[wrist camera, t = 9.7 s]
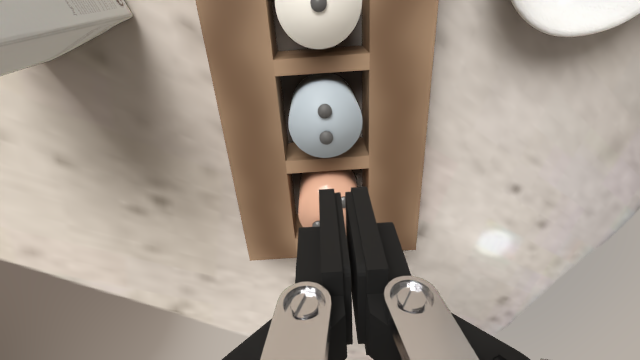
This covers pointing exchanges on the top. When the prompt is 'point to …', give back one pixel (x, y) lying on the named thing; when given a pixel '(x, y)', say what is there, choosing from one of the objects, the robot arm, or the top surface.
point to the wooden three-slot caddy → (270, 124)
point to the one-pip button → (318, 20)
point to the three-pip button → (310, 193)
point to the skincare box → (52, 28)
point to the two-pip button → (324, 116)
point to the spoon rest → (576, 15)
